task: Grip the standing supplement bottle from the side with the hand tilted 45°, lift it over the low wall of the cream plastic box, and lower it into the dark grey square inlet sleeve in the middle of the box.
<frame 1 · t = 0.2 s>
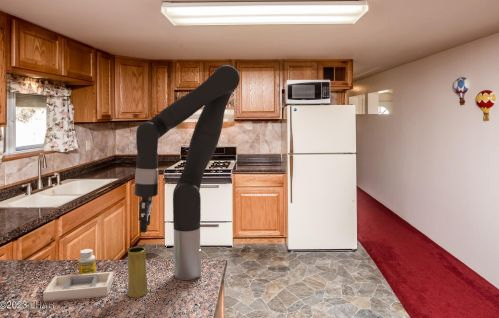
hand: (145, 228, 117), 18 cm above the countertop, tool pointing down, fingers open, 8 cm apart
walled box: (80, 290, 110), on the countertop
vase: (137, 293, 109), on the countertop
supplement bottle: (87, 277, 119), on the countertop
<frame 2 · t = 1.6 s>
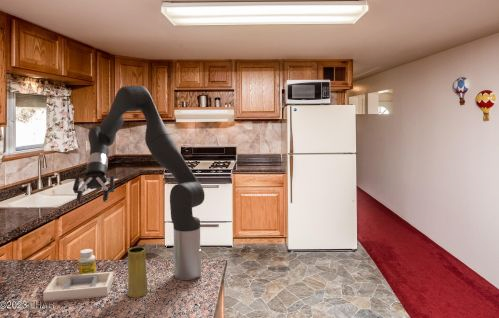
hand: (92, 201, 128), 24 cm above the countertop, tool tilted 45°, fingers open, 8 cm apart
nothing on the countertop moved.
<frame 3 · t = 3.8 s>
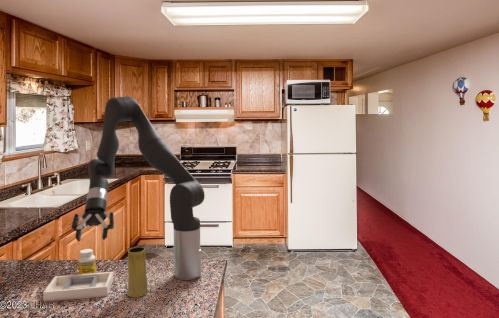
hand: (91, 239, 125), 11 cm above the countertop, tool tilted 45°, fingers open, 8 cm apart
nothing on the countertop moved.
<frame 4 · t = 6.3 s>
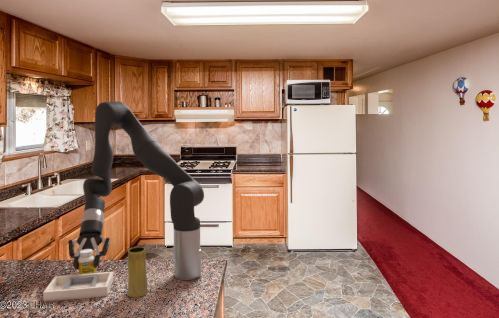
hand: (86, 267, 117), 4 cm above the countertop, tool tilted 45°, fingers closed on supplement bottle, 5 cm apart
supplement bottle: (87, 277, 119), on the countertop, touching gripper
everything else where it was.
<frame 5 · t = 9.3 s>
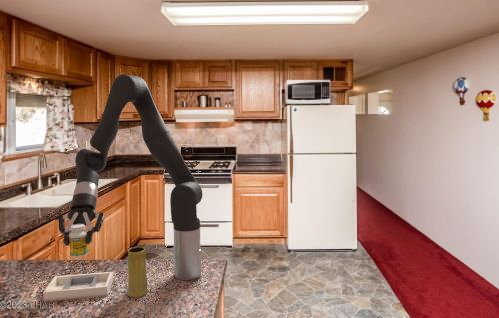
hand: (77, 243, 107), 16 cm above the countertop, tool tilted 45°, fingers closed on supplement bottle, 5 cm apart
supplement bottle: (79, 255, 109), point 12 cm above the countertop, touching gripper
everything else where it was.
when the fingers open (6 cm above the countertop, at t = 12.2 s): supplement bottle stays where it is, resting on walled box.
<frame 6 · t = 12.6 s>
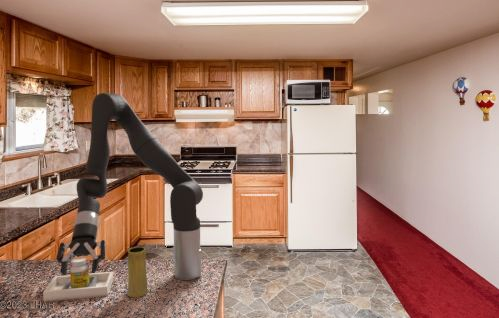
hand: (78, 273, 108), 6 cm above the countertop, tool tilted 45°, fingers open, 8 cm apart
supplement bottle: (80, 288, 110), resting on walled box
everything else where it was.
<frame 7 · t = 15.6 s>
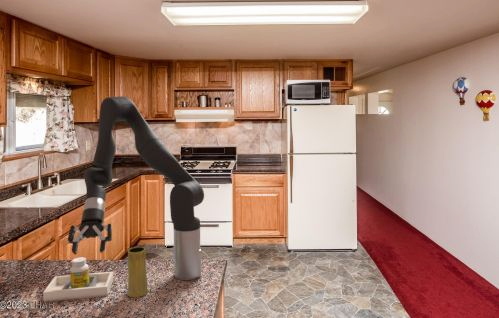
hand: (88, 252, 120), 8 cm above the countertop, tool tilted 45°, fingers open, 8 cm apart
nothing on the countertop moved.
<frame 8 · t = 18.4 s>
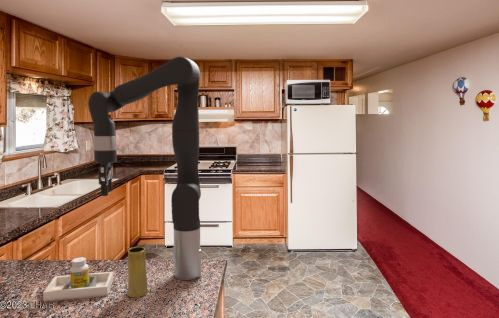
hand: (106, 193, 124), 28 cm above the countertop, tool pointing down, fingers open, 8 cm apart
nothing on the countertop moved.
at the end: supplement bottle 0.2 cm off-centre on the walled box, point 0.4 cm above the walled box's base; supplement bottle tilted 0°; the gripper is holding nothing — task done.
